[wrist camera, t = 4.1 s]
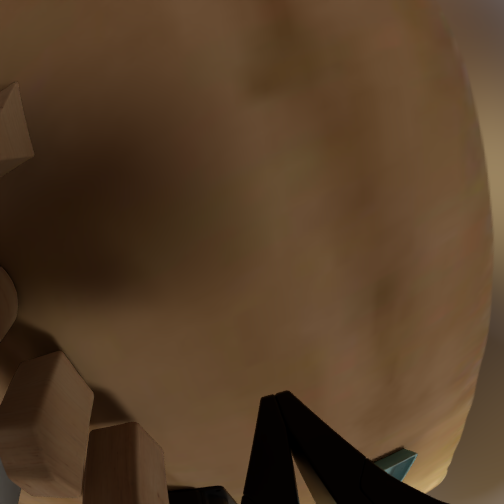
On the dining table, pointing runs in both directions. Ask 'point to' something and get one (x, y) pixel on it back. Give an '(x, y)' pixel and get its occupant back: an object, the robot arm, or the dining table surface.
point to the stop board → (8, 488)
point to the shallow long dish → (398, 463)
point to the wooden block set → (63, 400)
